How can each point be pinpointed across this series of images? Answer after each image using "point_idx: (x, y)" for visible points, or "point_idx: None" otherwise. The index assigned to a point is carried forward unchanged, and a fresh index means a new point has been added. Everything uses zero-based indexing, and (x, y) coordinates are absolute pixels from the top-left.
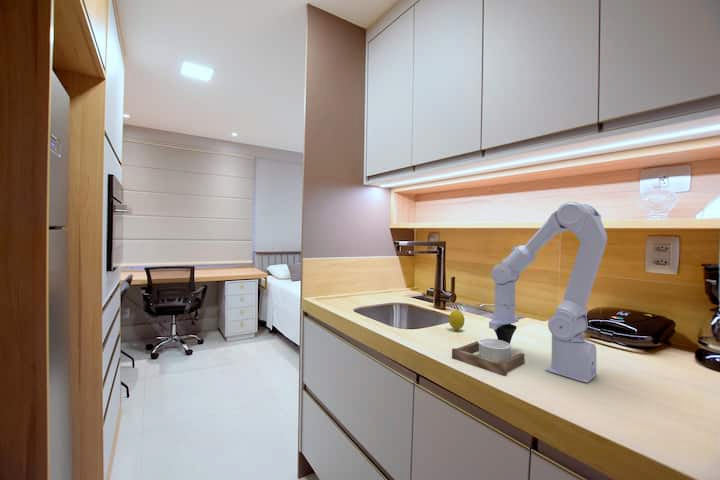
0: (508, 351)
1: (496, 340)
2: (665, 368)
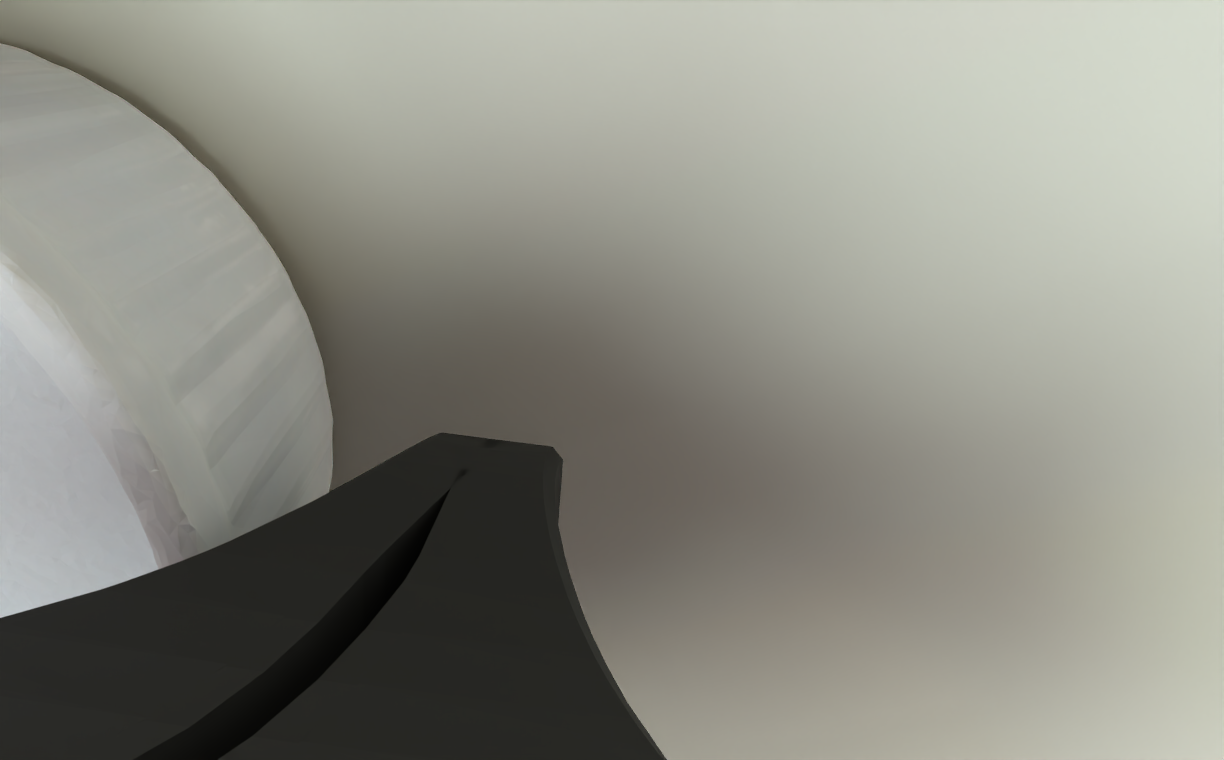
0: None
1: (143, 505)
2: None
